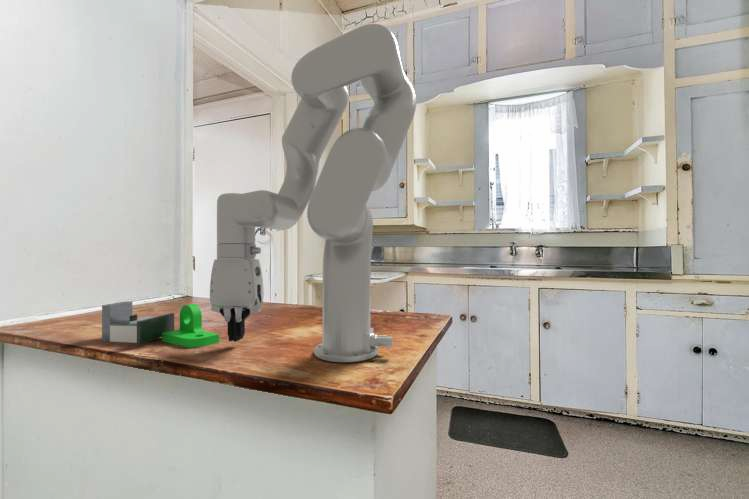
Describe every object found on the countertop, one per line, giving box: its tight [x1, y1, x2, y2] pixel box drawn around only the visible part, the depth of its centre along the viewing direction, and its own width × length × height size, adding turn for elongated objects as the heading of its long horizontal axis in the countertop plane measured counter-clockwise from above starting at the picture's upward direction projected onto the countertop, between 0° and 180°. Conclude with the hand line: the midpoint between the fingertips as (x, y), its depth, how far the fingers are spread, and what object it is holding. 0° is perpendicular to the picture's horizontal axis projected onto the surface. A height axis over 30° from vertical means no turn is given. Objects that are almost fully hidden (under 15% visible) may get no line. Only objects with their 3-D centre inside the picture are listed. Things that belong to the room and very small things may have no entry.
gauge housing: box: [101, 301, 137, 344], centre depth 79 cm, size 9×6×8 cm, turn 82°
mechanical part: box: [161, 303, 220, 349], centre depth 77 cm, size 12×6×8 cm, turn 59°
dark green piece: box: [130, 312, 175, 345], centre depth 77 cm, size 7×10×5 cm, turn 172°
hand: (236, 339), depth 73 cm, fingers closed
